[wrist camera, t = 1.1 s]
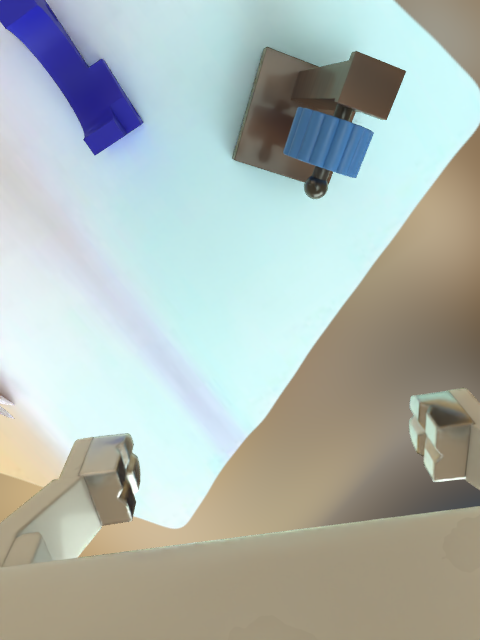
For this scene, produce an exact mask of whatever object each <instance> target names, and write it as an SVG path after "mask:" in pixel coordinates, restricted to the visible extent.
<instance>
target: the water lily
mask: <svg viewBox="0 0 480 640" xmlns="http://www.w3.org/2000/svg"><path fill="white" fill-rule="evenodd" d="M0 403H1V404H8V405H14V404H13V403H11V402H10V401H8V400H7V399H5V398H4V397H2V396H0ZM0 414H2V415H4V416H7V417H10V418H13V417H12V416H11V415H10V414H9V413H8V412H7V411H6V410H5V409H3V408H2V407H1V406H0ZM13 419H14V418H13Z"/></svg>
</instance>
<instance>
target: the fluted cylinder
mask: <svg viewBox="0 0 480 640" xmlns="http://www.w3.org/2000/svg"><path fill="white" fill-rule="evenodd" d="M373 134H374V132H372V131H371V130H369V129H366V128H364V127H362V126H359V125H356V124H354V123H351V122H349V121H346V120H343V119H340V118H337V117H334V116H331V115H327V114H324V113H321V112H318V111H314V110H311V109H307V108H302V107H298V108H297V111H296V114H295V117H294V120H293V123H292V126H291V130H290V133H289V136H288V139H287V142H286V145H285V148H284V151H283V153H284V154H285V155H288V156H290V157H293V158H296V159H298V160H301V161H304V162H307V163H310V164H312V165H315V166H318V167H321V168H324V169H327V170H330V171H333V172H336V173H339V174H342V175H346V176H349V177H354V178H356V177H357V174H358V172H359V169H360V167H361V164H362V161H363V159H364V156H365V154H366V151H367V149H368V146H369V144H370V141H371V139H372V136H373Z"/></svg>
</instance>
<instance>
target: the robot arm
mask: <svg viewBox="0 0 480 640" xmlns="http://www.w3.org/2000/svg"><path fill="white" fill-rule="evenodd" d="M410 409H411V411H412V412H413V414H414V415H413V417H412V418H411V419H410V420H409V432H410V437H411V441H412V443H413V446H414V448H415V450H416V452H417V453H418V454H419V455H421V456H424V466H425V468H426V469H427V471H428V473H429V475H430V476H431V478H432V480H433V481H434V482H439V481H448V480H458V479H465V480H466V481H467V482H469V483H470V484H472V485H473V486H474V487H476V488H477V489H479V490H480V403H479V402H478V401H477V400H476V398H475V397H474V396H473V395H472V394H471V393H470V391H469V390H468V389H466V388H459V389H453V390H447V391H444V392H437V393H430V394H422V395H415V396H411V399H410ZM133 445H134V444H133V441H132V438H131V435H130V434H128V433H125V434H116V435H107V436H98V437H90V438H83V439H78V440H76V441H75V442H74V444H73V447H72V449H71V451H70V454H69V456H68V458H67V461H66V463H65V465H64V467H63V470H62V472H61V474H60V477H59V479H55V480H52V481H51V482H50V483H49V484H48V485H46V486H45V487H44V488H43V489H41V490H40V491H39V492H38V493H36V494H35V495H34V496H33V497H31V498H30V499H29V500H28V501H27V502H25V503H24V504H23V505H22V506H20V507H19V508H18V509H17V510H15V511H14V512H13V513H12V514H10V515H9V516H8V517H7V518H6V519H4V520H3V521H2V522H1V523H0V640H480V506H477V507H470V508H462V509H454V510H446V511H438V512H431V513H423V514H415V515H408V516H400V517H392V518H384V519H377V520H368V521H360V522H353V523H345V524H337V525H329V526H321V527H314V528H307V529H299V530H291V531H283V532H276V533H267V534H260V535H251V536H244V537H236V538H229V539H221V540H213V541H205V542H197V543H190V544H182V545H173V546H166V547H158V548H150V549H142V550H135V551H126V552H119V553H111V554H103V555H96V556H87V557H80V558H77V557H78V556H79V555H80V554H81V552H82V551H83V550H84V549H85V547H86V546H87V545H88V544H89V543H90V541H91V540H92V539H93V538H94V536H95V535H96V534H97V533H98V532H99V530H100V529H101V528H102V527H101V526H104V525H110V524H117V523H123V522H129V521H132V518H133V514H134V509H135V505H136V500H135V497H134V494H135V493H136V492H137V491H138V490H139V485H140V466H139V461H138V457H137V456H136V455H135V454H133V453H132V449H133Z"/></svg>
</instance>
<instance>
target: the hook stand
mask: <svg viewBox="0 0 480 640" xmlns="http://www.w3.org/2000/svg"><path fill="white" fill-rule="evenodd" d="M405 73H406V71H405V70H402V69H400V68H397V67H395V66H392V65H390V64H387V63H385V62H382V61H380V60H377V59H375V58H372V57H370V56H367V55H365V54H362V53H360V52H357V51H355V52H352V53H351V56H350V59H349V60H348V61H344V62H339V63H335V64H331V65H326V66H322V67H318V66H316V65H313V64H310V63H308V62H305V61H303V60H300V59H297V58H295V57H292V56H290V55H287V54H284V53H282V52H279V51H277V50H274V49H271V48H269V47H266V48H264V50H263V53H262V57H261V60H260V64H259V67H258V71H257V74H256V78H255V81H254V84H253V88H252V91H251V95H250V98H249V102H248V105H247V109H246V112H245V116H244V119H243V123H242V126H241V130H240V133H239V137H238V140H237V144H236V147H235V151H234V154H233V159H234V160H236V161H239V162H242V163H245V164H248V165H251V166H255V167H258V168H261V169H264V170H267V171H270V172H273V173H277V174H280V175H283V176H286V177H289V178H292V179H296V180H299V181H302V182H305V184H304V190H305V193H306V195H307V196H308V197H310V198H312V199H319V198H321V197H323V196H324V195H325V194H326V192H327V189H328V184H329V182H330V179H331V176H332V174H333V171H330V170H327V169H324V168H321V167H318V166H315V165H312V164H310V163H307V162H304V161H301V160H298V159H296V158H293V157H290V156H288V155H285V154H284V153H283V151H284V148H285V145H286V142H287V139H288V136H289V133H290V130H291V126H292V123H293V120H294V117H295V114H296V111H297V108H298V107H302V108H307V109H311V110H314V111H318V112H321V113H324V114H327V115H331V116H334V117H337V118H340V119H343V120H346V121H349V122H351V123H352V120H353V118H354V115H355V112H362V113H365V114H367V115H370V116H373V117H376V118H378V119H381V120H387V117H388V115H389V112H390V110H391V108H392V105H393V103H394V100H395V98H396V95H397V93H398V90H399V88H400V85H401V83H402V80H403V78H404V75H405Z"/></svg>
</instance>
